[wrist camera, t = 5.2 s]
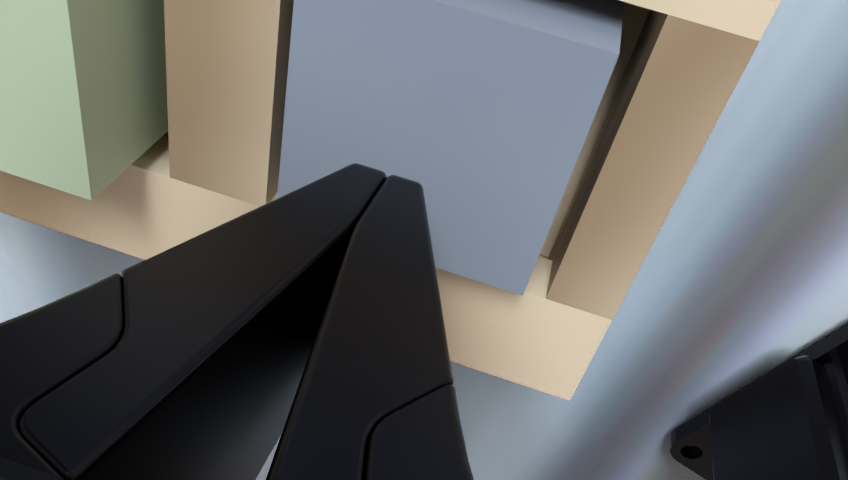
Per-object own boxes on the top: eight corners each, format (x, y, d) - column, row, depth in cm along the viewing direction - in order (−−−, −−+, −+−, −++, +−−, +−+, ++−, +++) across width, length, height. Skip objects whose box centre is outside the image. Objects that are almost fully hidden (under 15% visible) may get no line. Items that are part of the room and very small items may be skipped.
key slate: (625, -14, 10) (619, 54, 8) (542, 204, 13) (523, 295, 11) (361, -90, 11) (296, -41, 9) (331, 138, 13) (275, 216, 11)
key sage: (172, -124, 10) (57, -80, 8) (177, 122, 13) (91, 200, 11) (-88, -200, 10) (-258, -174, 8) (-31, 55, 13) (-153, 121, 11)
